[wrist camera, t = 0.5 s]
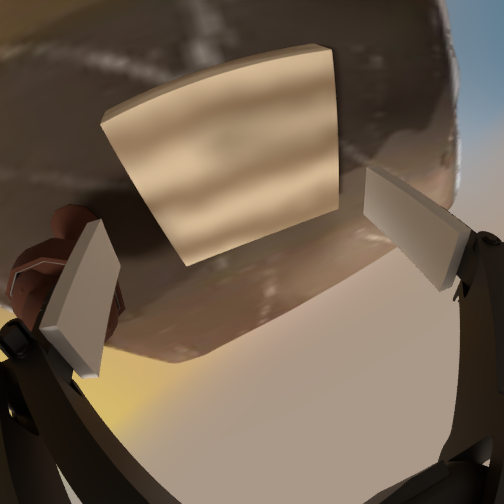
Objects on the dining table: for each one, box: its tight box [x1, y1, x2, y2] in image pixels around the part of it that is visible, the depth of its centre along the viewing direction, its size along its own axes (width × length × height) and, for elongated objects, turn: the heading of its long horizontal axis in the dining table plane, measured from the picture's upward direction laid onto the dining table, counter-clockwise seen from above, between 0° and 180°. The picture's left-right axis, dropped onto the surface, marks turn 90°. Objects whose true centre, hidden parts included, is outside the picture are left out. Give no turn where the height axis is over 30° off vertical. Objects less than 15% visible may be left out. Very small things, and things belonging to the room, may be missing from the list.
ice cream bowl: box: [6, 204, 125, 343], centre depth 21 cm, size 11×11×15 cm
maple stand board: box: [100, 43, 339, 266], centre depth 25 cm, size 18×18×3 cm
